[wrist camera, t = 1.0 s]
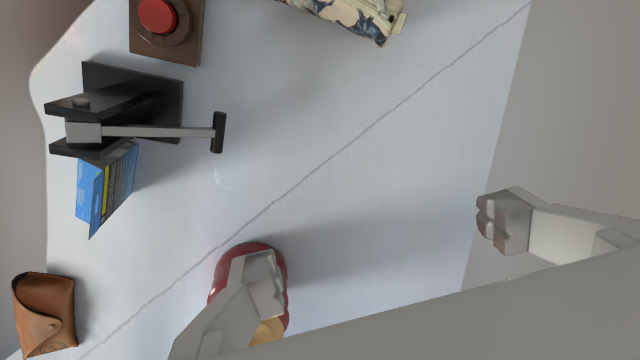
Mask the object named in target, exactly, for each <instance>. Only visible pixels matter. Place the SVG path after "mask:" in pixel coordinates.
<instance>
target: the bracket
mask: <svg viewBox="0 0 640 360" xmlns="http://www.w3.org/2000/svg"><path fill="white" fill-rule="evenodd" d="M82 76H83V91H84V93H81V94H78V95H74V96H71V97H67V98H63V99H60V100H56V101H53V102H49V103H46V104H44V109H45V114H48V115H53V116H59V117H64V118H70V119H76V120H81V121H87V122H93V123H99V122H100V123H105V124H132V125H158V126H181V115H182V98H183V81H179V80H174V79H170V78H165V77H160V76H156V75H151V74H146V73H142V72H137V71H132V70H128V69H123V68H118V67H114V66H109V65H104V64H100V63H95V62H91V61H82ZM134 137H136V138H142V139H148V140H153V141H159V142H165V143H171V144H176V145H178V144H179V143H180V137H140V136H101V139H102V143H67V140H66V137H64V138H62V139H60V140H58V141H55V142H53V143H51V144H49V151H50V154H55V155H61V156H68V157H74V158H81V159H87V160H94V161H100V160H102V159H103V158H105V157H106V156H108V155H109V154H110V153H112V152H113V151H115V150H116V149H118V148H119V147H121V146H122V145H124V144H125V143H126V142H128V141H129V140H131V139H132V138H134Z"/></svg>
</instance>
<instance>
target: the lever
mask: <svg viewBox="0 0 640 360" xmlns="http://www.w3.org/2000/svg"><path fill="white" fill-rule="evenodd" d="M226 116H227V114H226V113H224V112H219V111H216V112H214V116H213V126H212V128H211V127H184V126H158V125H132V124H105V123H100V122H99V123H93V122H87V121H81V120H76V119H70V118H65V129H66V140H67V143H102V139H101V136H140V137H199V138H211V146H210V151H211V152H212V153H217V154H219V153H222V150H223V141H224V133H225V124H226Z"/></svg>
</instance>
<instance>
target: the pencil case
mask: <svg viewBox="0 0 640 360" xmlns="http://www.w3.org/2000/svg"><path fill="white" fill-rule="evenodd" d="M275 1H279V2H282V3H285V4H287V5H290V6H292V7H295V8H299V9H303V10H305V11H307V12H309V13H311V14H313V15H315V16H317V17H319V18H321V19H323V20H327V21H330V22H333V23H337V24H339V25H341V26H343V27H345V28H346V29H348V30H349V31H351V32H353V33H355V34H358V35H360V36H363V37H366V38H369V39H371V40H372V41H373V43H374V45H375V47H376V48H383V47H384V46H385V45H386V43H387V41H388V40H389V38H390V36H391V33H394V34H397V35H399V34H400V32H401V30H402V27H403V24H404V21H405V18H406V14H404V13H401V12H402V8H403V5H404V2H405V0H275Z"/></svg>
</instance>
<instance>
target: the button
mask: <svg viewBox="0 0 640 360" xmlns="http://www.w3.org/2000/svg"><path fill="white" fill-rule="evenodd" d="M138 15H139V19H140V21H141V23H142V24H143V25H144V26H145V27H146V28H147V29H148V30H150V31H152V32H154V33H169V32H171V31H172V30H173V29H174V28H175V26H176V22H177V17H176V13H175V11H174V9H173V7H172V6H171V5H170V4H169V3H168V2H166V1H164V0H142V1H141V2H140V4H139V7H138Z"/></svg>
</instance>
